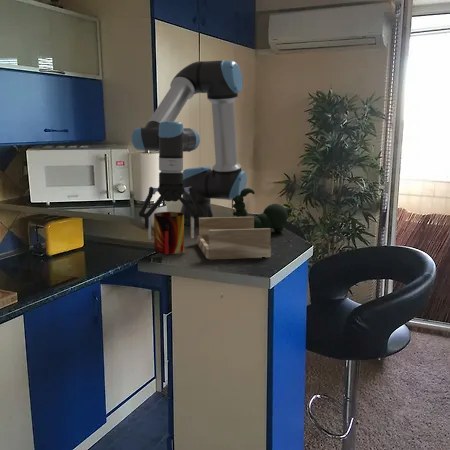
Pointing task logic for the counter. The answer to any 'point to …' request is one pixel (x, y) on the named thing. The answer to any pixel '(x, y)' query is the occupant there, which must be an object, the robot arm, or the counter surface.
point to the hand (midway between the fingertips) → (171, 238)
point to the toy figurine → (269, 218)
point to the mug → (169, 232)
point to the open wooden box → (233, 238)
